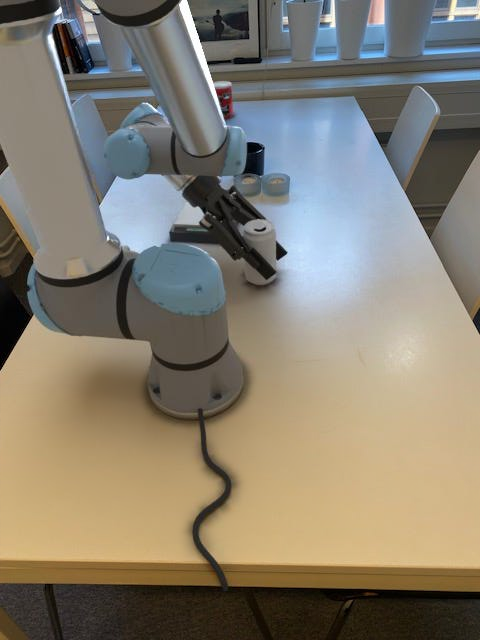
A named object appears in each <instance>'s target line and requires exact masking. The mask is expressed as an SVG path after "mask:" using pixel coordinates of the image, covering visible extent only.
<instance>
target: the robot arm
mask: <svg viewBox="0 0 480 640" xmlns="http://www.w3.org/2000/svg"><path fill="white" fill-rule="evenodd" d="M93 1H94V3H95V6H96V7H97V9H98V11H99V12H100V14H101V15H102V16H103V18H104V19H105V20H107V22H109V23H110V24H112V25H114V26H115V27H119V29H120V31H121V32H122V34H123V36H124V38H125V41H126V42H127V44H128V46H129V48H130V50H131V52H132V54H133V57H134V58H135V60H136V62H137V64H138V65H139V68H140V69H141V71H142V73H143V75H144V77H145V79H146V81H147V83H148V85H149V87H150V89H151V91H152V93H153V95H154V96H155V98H156V100H157V102H158V104H159V106H160V108H161V110H162V112H163V114H162V113H161V112H159V111H158V110H157V109H156V108H155V107H154V106H153V105H151V104H150V103H148V102H141V103H140V104H139V105H138V106H135V108H133V110H131V111H130V112H129V113H128V115H127V116H126V117H125V118H124V119H123V121H122V122H121V124H120V128H118V129H117V130H115V132H113V133H111V134H110V135H109V136H108V137H107V138H106V140H105V141H104V144H103V152H102V153H103V159H104V162H105V165H106V166H107V168H108V169H109V171H110V172H112V174H113V175H114V176H116V177H118V178H120V179H123V180H135V179H139V178H141V177H143V176H144V175H159V176H162V177H163V178H164V179H165V180H166V181H167V182H169V184H170V185H171V186H172V187H173V188H174V189H175V190H176V192H182V193H181V197H182V198H183V199H184V200H185V202H186V201H187V202H188V203H189V204H190V205H191V206H192V207H194V208H195V207H197V206H198V207H199V208H200V209H201V210H202V213H203V214H204V216H203V218H202V219H201V220H200V221H199V224H200V226H202V227H203V228H204V229H206V230H207V231H208V232H209V233H210V234H211V235H212V236H213V237H214V238H215V239H216V241H217V242H218V243H217V244H218V245H220V246H221V248H222V249H223V250H224V252H226V253H227V254H228V255H229V256H230V258H231V259H232V260H233V261H237V260H238V261H240V260H241V259H243V260H244V259H245V260H246V261H247V263H248V264H249V265H251V267H252V268H254V269H256V270H257V271H258V272H259V273H260V274H261V275H262V276H263V277H264V278H265V279H266V280H267V279H269V278H270V277H272V276H273V275H275V274H276V275H277V269H276V270H275V269H274V268H273V267H272V266H271V265H270V264H269V263H268V262H267V261H266V260H265V259H264V258H263V257H262V256H261V255H260V254H259V253H258V252H257V251H256V250H255V249H254V248H252V249H251V250H250V247H249V246H248V244H247V243H246V241H245V240H244V238H243V234H242V233H241V232H240V230H239V228H237V225H236V226H235V224H234V223H233V221H232V219H234V220H236V221H237V223H239V224H240V225H242V226H243V227H244V226H245V224H246V223H247V222H249V221H252V220H257V219H262V220H267V218H266V217H265V215H263V214H262V213H261V212H260V211H259V210H258V209H257V208H256V207H255V206H254V205H253V204H252V203H251V202H250V201H249V200H248V199H246V197H244V195H242V193H241V192H240V191H239V190H238V188H237V186H236V185H233V184H232V185H231V186H230V187H229V188H228V189H226V188H224V187H223V186H221V185H220V184H221V183H222V177H233V176H234V177H236V176H240V175H242V174H243V172H244V171H245V168H246V165H247V164H246V163H247V155H248V142H247V135H246V132H245V130H244V129H243V128H242V127H240V126H233V125H230V124H229V125H227V123H226V120H225V119H224V117H223V114H222V111H221V108H220V105H219V102H218V99H217V95H216V92H215V89H214V86H213V80H212V77H211V74H210V71H209V68H208V64H207V61H206V58H205V54H204V51H203V49H202V48H203V47H202V45H201V43H200V39H199V35H198V33H197V30H196V27H195V23H194V20H193V17H192V14H191V11H190V7H189V4H188V1H187V0H93ZM61 14H62V8H61V4H60V0H0V147H1V150H2V152H3V154H4V156H5V161H6V162H7V165H8V168H9V170H10V172H11V175H12V178H13V180H14V183H15V185H16V188H17V190H18V191H17V192H18V193H19V196H20V198H21V201H22V204H23V206H24V209H25V211H26V215H27V217H28V219H29V221H30V225H31V227H32V230H33V232H34V235H35V237H36V240H37V243H38V245H39V248H38V249H37V251H36V252H35V254H34V256H33V261H32V262H33V264H32V265H31V266H30V269H29V272H28V275H27V283H26V285H27V286H28V287H29V291H26V292H27V293H26V294H27V299H28V303H29V306H30V309H31V311H32V313H33V315H34V317H35V318H36V319H37V321H38V322H39V323H40V324H41V325H42V326H43V327H45V328H46V329H47V330H49V331H51V332H54V333H59V334H65V335H68V336H71V337H93V338H106V339H116V340H117V339H118V340H129V341H139V342H140V341H141V342H149V344H150V350H151V358H150V363H149V367H148V368H149V369H148V372H147V389H148V393H149V396H150V399H151V401H152V403H153V404H154V406H156V408H157V409H159V411H161V412H162V413H164V414H166V415H167V416H169V417H173V418H176V419H181V420H198V423H199V430H200V447H201V454H202V457H203V459H204V461H205V463H206V464H207V465H208V467H209V468H211V469H212V470H213V471H214V472H216V473H217V474H218V475H220V476H221V477H222V478H223V480H224V483H225V487H224V491H223V493H222V494H221V495H220V496H219V497H218V498H216V499H215V500H214V501H213V502H211V503H210V504H209V505H207V506H206V507H205V508H203V509H202V510H201V511H200V512H199V513H198V514H197V516H196V517H195V519H194V521H193V525H192V540H193V543H194V545H195V547H196V549H197V550H198V551H199V553H200V554H201V556H203V558H204V559H205V560H206V561H207V562H208V564H209V565H210V566H211V568H212V569H213V571H214V572H215V574H216V576H217V577H218V580H219V583H220V586H221V589H222V591H223V592H228V590H229V584H228V580H227V578H226V575H225V572H224V571H223V569H222V567H221V565H220V564H219V563H218V561H217V560H216V559H215V557H213V555H212V554H211V553H210V552H209V551H208V550H207V548H206V547H205V546H204V544H203V543H202V541H201V539H200V535H199V528H200V524H201V522H202V520H203V519H204V518H205V517H206V516H207V515H208V514H209V513H211V512H212V511H213V510H214V509H216V508H218V506H220V505H221V504H222V503H224V502H225V500H227V499H228V497H229V496H230V493H231V490H232V481H231V478H230V476H229V473H227V472H226V471H225V470H224V469H222V468H221V467H220V466H218V465H217V464H216V463H214V461H213V460H212V459H211V457H210V455H209V452H208V448H207V432H206V425H205V419H207V418H210V417H214V416H216V415H218V414H220V413H222V412H224V411H225V410H227V409H228V408H229V407H231V406H232V405H233V404H234V403H235V402H236V401H237V400H238V398H239V397H240V395H241V393H242V391H243V388H244V383H245V382H244V381H245V380H244V379H245V378H244V369H243V365H242V361H241V360H240V357H239V356H238V355H237V353H236V351H235V349H234V347H233V345H232V343H231V342H230V339H229V325H228V313H227V303H226V298H227V292H226V287H225V283H224V280H223V273H222V268H221V267H220V264H219V263H218V261H217V260H216V259H215V258H214V257H213V256H212V255H211V254H210V253H209V252H207V251H206V250H204V249H202V248H200V247H198V246H196V245H192V244H188V243H181V242H167V243H166V242H165V243H161V245H160V246H157V245H153V246H150V247H148V248H145V249H144V250H143V251H142V252H139V253H140V254H139V255H138V256H137V258H126V257H125V256H124V254H123V250H122V246H123V245H122V243H121V241H120V238H119V237H118V236H117V235H116V234H115V233H112V232H111V231H109V230H106V227H105V222H104V219H103V215H102V212H101V211H102V210H101V208H100V204H99V201H98V198H97V197H98V196H97V193H96V189H95V186H94V183H93V178H92V175H91V171H90V168H89V163H88V160H87V157H86V154H85V150H84V146H83V141H82V139H81V135H80V131H79V128H78V124H77V121H76V117H75V114H74V113H75V112H74V109H73V106H72V102H71V99H70V94H69V91H68V87H67V84H66V80H65V76H64V72H63V70H62V65H61V61H60V58H59V54H58V50H57V47H56V43H55V39H54V37H53V29H54V26H55V24H56V23H57V21H58V19H59V17H60V15H61ZM164 115H165V116H164ZM165 117H166V118H165ZM221 221H222V222H221ZM287 255H288V251H287V250H286V249H285V248H284V247H283V246H282V245H281V244H280V243H279V241H277V240H276V262H278V261H280V260H281V259H282V258H284V257H285V256H287Z"/></svg>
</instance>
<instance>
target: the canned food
mask: <svg viewBox="0 0 480 640" xmlns="http://www.w3.org/2000/svg"><path fill="white" fill-rule="evenodd" d="M212 83H213V86H214V89H215V92H216V95H217V99H218V102H219V105H220V108H221V111H222V114H223V117H224V120H225V119H226V120H227V119H230V118H232V117H233V115H234V105H233V104H234V103H233V102H234V101H233V85H232V82H230V81H229V80H218V81H212Z"/></svg>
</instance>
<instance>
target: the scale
mask: <svg viewBox="0 0 480 640" xmlns="http://www.w3.org/2000/svg"><path fill="white" fill-rule="evenodd" d="M203 216H204V214H203V213H202V210H201V209H200V208H199V207H198V206H197V207H195V208H194V207H192V206H191V205H190V204H189V203H188V202H187V201H186V200H185V203H184V205H183V206H182V208H181V210H180V212H179V213H178V215H177V216H176V219H175V220H174V222H173V225H172V226H171V228H170V229H169V231H168V233H169V239H170V242H182V243H183V242H184V243H185V242H186V243H204V244H205V243H206V244H219V243H218V242H217V241H216V239H215V238H214V237H213V236H212V235H211V234H210V233H209V232H208V231H207V230H206V229H204V228H203V227H202V226H200V224H199V221H200V220H201V219H202V218H203ZM232 221H233V223H234V224H235V226H236V227H237V224H238V222H237V221H236V220H234V219H232ZM221 222H222V221H221Z"/></svg>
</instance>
